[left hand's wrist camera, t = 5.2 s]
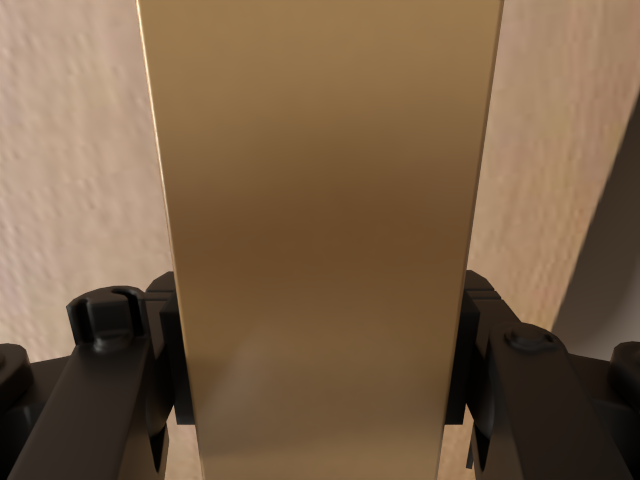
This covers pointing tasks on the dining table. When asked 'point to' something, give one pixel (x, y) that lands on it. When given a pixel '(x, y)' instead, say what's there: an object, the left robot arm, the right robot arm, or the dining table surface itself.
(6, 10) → the dining table surface
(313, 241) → the bar
